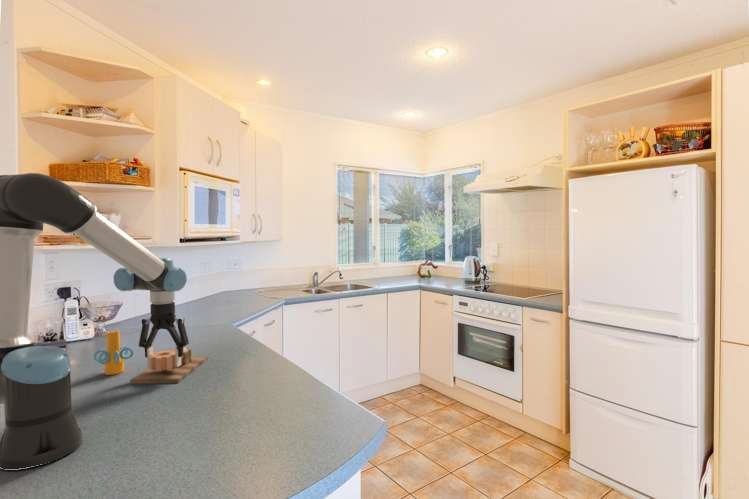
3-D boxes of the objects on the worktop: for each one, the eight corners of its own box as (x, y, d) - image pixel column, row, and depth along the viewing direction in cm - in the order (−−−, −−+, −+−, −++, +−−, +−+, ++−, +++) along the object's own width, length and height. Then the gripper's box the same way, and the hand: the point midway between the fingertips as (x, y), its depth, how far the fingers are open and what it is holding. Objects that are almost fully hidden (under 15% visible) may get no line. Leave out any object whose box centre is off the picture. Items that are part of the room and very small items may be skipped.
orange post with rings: (112, 379, 136) (110, 336, 135) (87, 377, 138) (85, 335, 137) (140, 367, 147) (138, 327, 147) (116, 365, 150) (115, 326, 149)
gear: (171, 370, 134) (170, 357, 134) (144, 371, 134) (144, 358, 134) (183, 362, 143) (183, 350, 143) (158, 362, 143) (158, 350, 143)
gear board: (178, 382, 132) (178, 361, 132) (130, 383, 132) (129, 362, 131) (207, 359, 156) (206, 341, 156) (166, 360, 156) (165, 342, 155)
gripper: (198, 300, 142) (200, 362, 143) (137, 300, 141) (139, 362, 142) (189, 303, 134) (191, 369, 135) (124, 304, 134) (127, 370, 135)
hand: (164, 366), depth 139 cm, fingers closed on gear, 9 cm apart
